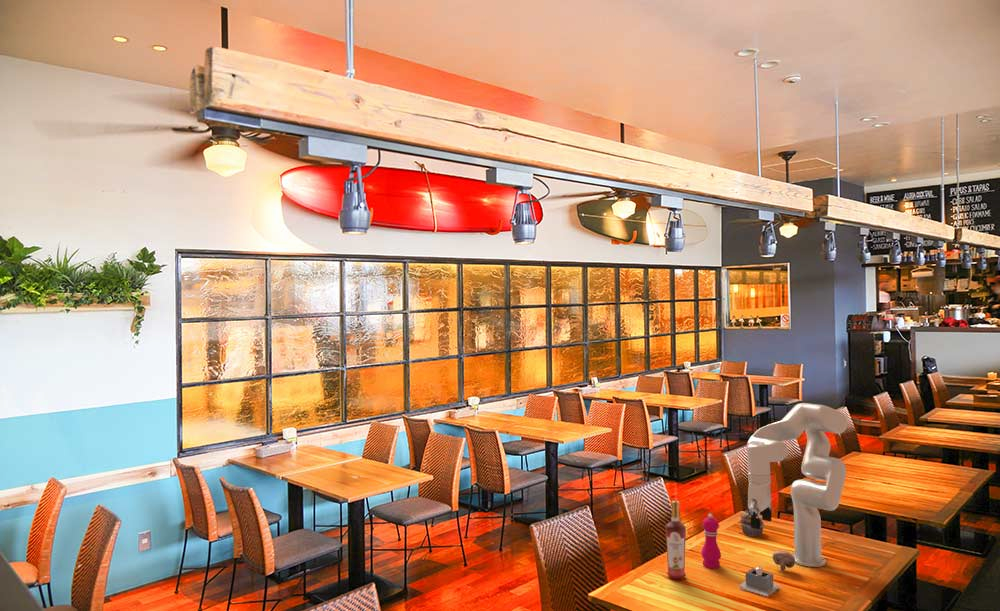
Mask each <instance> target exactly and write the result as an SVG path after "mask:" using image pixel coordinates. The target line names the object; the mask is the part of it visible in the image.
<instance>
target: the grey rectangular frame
mask: <svg viewBox="0 0 1000 611" xmlns="http://www.w3.org/2000/svg"><path fill="white" fill-rule="evenodd" d="M745 581H746V584H747V585H750V586H754V587H757V588H760V589H764V590H768V589H769V588H771V587H772V586H773V583H774V574H773V573H770V572H766V571H763V570H762V576H759V575H756V568H751V569H749V570H748V571H746V572H745Z"/></svg>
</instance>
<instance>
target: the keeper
mask: <svg viewBox="0 0 1000 611" xmlns="http://www.w3.org/2000/svg"><path fill="white" fill-rule="evenodd" d="M755 569H756V575H759V576H762V571H763V567H760V566H757V567H755ZM738 586H739V588H740V590H743V591H746V590H747V592H749V591H750V592H749V593H752V592H754V593H753V594H755V593H757V594H756V595H758V594H760V596H762V595H763V596H762V597H765V596H767V597H766V598H769V597H770V596H771V595H772V593H773V592H774V593H775V592H777V591H778V590H779V589H780V584H779V583H774V582H773V586H772V587H771V588H769V589H768V590H764V589H760V588H757V587H754V586H750V585H747V584H746V580H745V581H744V582H742V583H740V584H739V585H738ZM777 589H778V590H777ZM776 590H777V591H776ZM774 593H773V594H774ZM769 595H770V596H769ZM768 596H769V597H768Z"/></svg>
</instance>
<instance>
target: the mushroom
mask: <svg viewBox="0 0 1000 611" xmlns="http://www.w3.org/2000/svg"><path fill="white" fill-rule="evenodd" d="M792 554H793V553H791V552H789V551H786V550H776V551H774V552H773V554H772V559H773V560H772V561H773V562H774V564H776V565H777V566H779V567H780V568H779V569H780V571H781V572H784V571H785V570H786V568H788V569H791V568H793V567H794V566H795V565H796V563H795V558H794V557H793V555H792Z"/></svg>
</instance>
